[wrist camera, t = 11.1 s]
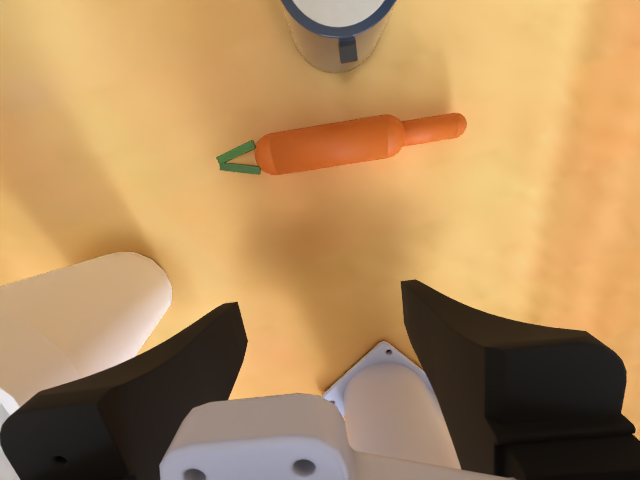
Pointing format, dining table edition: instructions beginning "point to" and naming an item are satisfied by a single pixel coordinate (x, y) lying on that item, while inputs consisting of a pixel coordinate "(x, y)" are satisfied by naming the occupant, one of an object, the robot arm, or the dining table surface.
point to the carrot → (341, 143)
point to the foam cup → (75, 325)
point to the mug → (336, 30)
